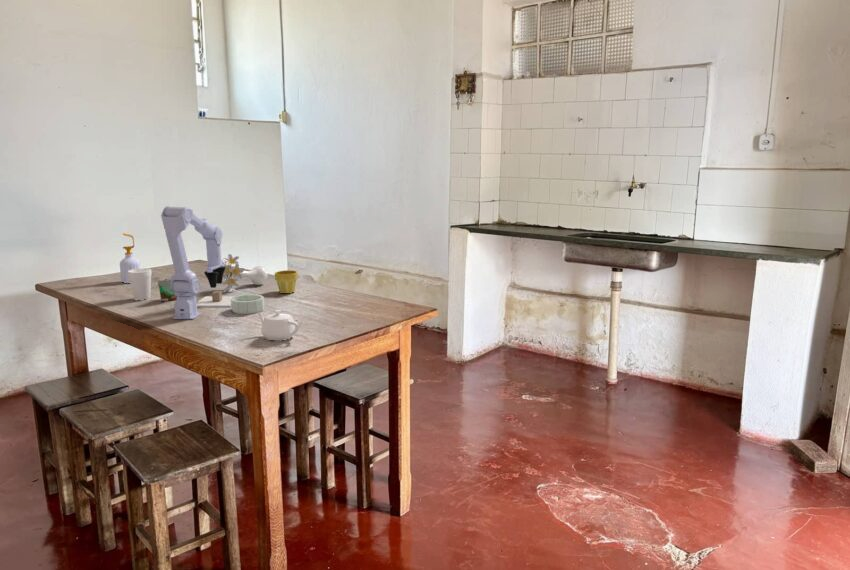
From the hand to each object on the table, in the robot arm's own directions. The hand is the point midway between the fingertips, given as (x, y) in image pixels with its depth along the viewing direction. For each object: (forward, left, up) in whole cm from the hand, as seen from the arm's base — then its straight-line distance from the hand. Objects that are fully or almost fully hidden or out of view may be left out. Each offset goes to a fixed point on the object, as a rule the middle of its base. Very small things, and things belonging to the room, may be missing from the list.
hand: (216, 285), depth 269 cm
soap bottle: (+42, +57, -8) cm, 71 cm away
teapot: (-49, -38, -8) cm, 63 cm away
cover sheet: (0, 0, -7) cm, 7 cm away
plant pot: (+20, -26, -8) cm, 34 cm away
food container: (+5, +21, -8) cm, 23 cm away
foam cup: (+7, +36, -8) cm, 38 cm away
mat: (0, 0, -8) cm, 8 cm away
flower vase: (+29, -3, -8) cm, 30 cm away
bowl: (-13, -17, -8) cm, 23 cm away
